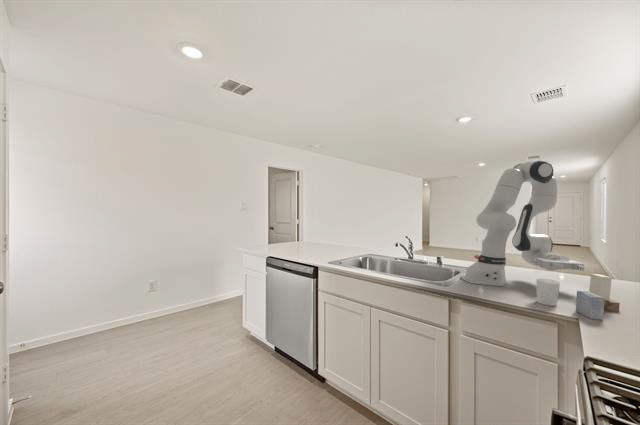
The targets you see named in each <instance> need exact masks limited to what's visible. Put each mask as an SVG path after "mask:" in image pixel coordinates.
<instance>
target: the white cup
mask: <svg viewBox="0 0 640 425" xmlns="http://www.w3.org/2000/svg"><path fill="white" fill-rule="evenodd" d="M560 285H561V283H560V281H557V280H554V279H550V278H538V277H537V278H536V286H535V287H536V291H535V292H536V303H538V304H540V305H544V306H548V305H549V307H556V306H557V304H558V298H559V293H560Z"/></svg>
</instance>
